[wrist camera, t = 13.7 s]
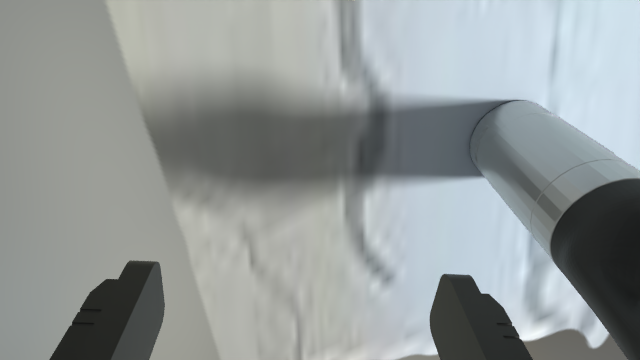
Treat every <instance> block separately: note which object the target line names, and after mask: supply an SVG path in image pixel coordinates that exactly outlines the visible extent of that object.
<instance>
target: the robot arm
mask: <svg viewBox="0 0 640 360" xmlns="http://www.w3.org/2000/svg"><path fill="white" fill-rule="evenodd" d="M470 154H471V158H472V161H473V162H474V164H475V165H476V167H477V168H478V169H479V170H480V172H481V173H482V174H483V175H484V177H485V178H486V179H487V180H488V182H489V183H490V184H491V186H492V187H493V188H494V189H495V190H496V192H497V193H498V194H499V195H500V197H501V198H502V199H503V200H504V202H505V203H506V204H507V205H508V206H509V208H510V209H511V210H512V211H513V213H514V214H515V215H516V216H517V217H518V219H519V220H520V221H521V222H522V224H523V225H524V226H525V227H526V229H527V230H528V231H529V232H530V233H531V235H532V236H533V237H534V238H535V240H536V241H537V242H538V243H539V244H540V246H541V247H542V248H543V249H544V250H545V252H546V253H547V254H548V255H549V257H550V258H551V259H552V260H553V262H554V263H555V264H556V266H557V267H558V268H559V269H560V270H561V272H562V273H563V274H564V275H565V276H566V278H567V279H568V280H569V281H570V283H571V284H572V285H573V286H574V288H575V289H576V290H577V291H578V293H579V294H580V295H581V296H582V298H583V299H584V300H585V301H586V303H587V304H588V305H589V307H590V308H591V309H592V310H593V312H594V313H595V314H596V316H597V317H598V318H599V320H600V321H601V322H602V324H603V325H604V326H605V328H606V329H607V331H608V332H609V333H610V335H611V336H612V338H613V339H614V340H615V342H616V343H617V345H618V346H619V347H620V349H621V350H622V352H623V353H624V355H625V356H626V357H627V359H628V360H640V171H639V170H638V169H636V168H635V167H633V166H631V165H630V164H628V163H627V162H625V161H624V160H622V159H621V158H619V157H618V156H616V155H615V154H614V153H613V152H612V151H610V150H609V149H607V148H606V147H604V146H603V145H601V144H600V143H598V142H596V141H595V140H593V139H592V138H590V137H589V136H587V135H586V134H584V133H583V132H581V131H580V130H578V129H577V128H575V127H573V126H572V125H570V124H569V123H567V122H566V121H564V120H563V119H561V118H560V117H557V116H555V115H554V114H552V113H551V112H549V111H548V110H546V109H545V108H543V107H541V106H540V105H538V104H536V103H533V102H530V101H521V100H520V101H512V102H508V103H505V104H502V105H500V106H498V107H497V108H495V109H493V110H492V111H490V112H489V113H488V114H486V115H485V116H484V118H483V119H482V120H481V121H480V122H479V123H478V125H477V126H476V128H475V130H474V132H473V134H472V137H471V142H470ZM164 307H165V303H164V294H163V285H162V277H161V269H160V264H159V262H151V261H129V262H128V263H127V264H126V266H125V268H124V270H123V271H122V273H121V275H120V277H119V279H118V280H117V279H106V280H105V281H104V282H102V283H101V284H100V285H99V286H97V287H96V288H95V289H94V290H93V291H91V292H90V294H89V295H88V297H87V299H86V300H85V302H84V303H83V305H82V307H81V308H80V312H78V313H77V315H76V317H75V318H74V320H73V322H72V326H70V327H69V328H68V330H67V332H66V333H65V335H64V337H63V338H62V340H61V342H60V343H59V345H58V347H57V348H56V350H55V351H54V353H53V355H52V356H51V358H50V360H149V358H150V356H151V353H152V350H153V347H154V344H155V342H156V339H157V336H158V333H159V331H160V328H161V325H162V322H163V317H164ZM430 329H431V334H432V337H433V340H434V343H435V345H436V348H437V351H438V354H439V357H440V360H533V359H532V357H531V356H530V354H529V352H528V350H527V349H526V347H525V345H524V343H523V342H522V340H521V339H519V335H518V333H517V331H516V329H515V327H514V326H512V322H511V320H510V319H509V317H508V315H507V313H506V312H505V310H504V308H503V307H502V306H501V305H500V304H499V303H498V302H497V301H496V300H495V299H494V298H492V297H491V296H490V295H489V294H481V293H480V291H479V289H478V287H477V285H476V283H475V281H474V279H473V278H472V277H471V276H470V275H455V274H443V275H442V277H441V279H440V282H439V285H438V289H437V292H436V295H435V299H434V302H433V305H432V309H431V313H430Z"/></svg>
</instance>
